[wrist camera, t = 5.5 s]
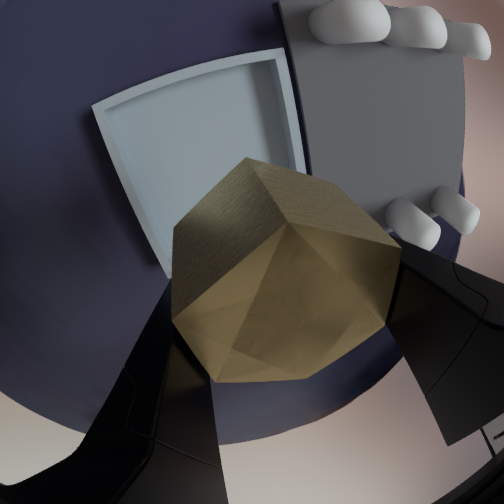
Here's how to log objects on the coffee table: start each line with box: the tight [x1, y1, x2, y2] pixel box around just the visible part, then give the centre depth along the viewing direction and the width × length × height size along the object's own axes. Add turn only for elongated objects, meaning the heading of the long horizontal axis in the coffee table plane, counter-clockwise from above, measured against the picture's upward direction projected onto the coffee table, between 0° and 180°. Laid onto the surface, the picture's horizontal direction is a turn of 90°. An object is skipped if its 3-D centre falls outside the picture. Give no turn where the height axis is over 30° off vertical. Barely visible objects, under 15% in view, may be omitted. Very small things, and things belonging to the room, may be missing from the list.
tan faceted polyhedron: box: [171, 157, 402, 382], centre depth 8 cm, size 6×5×4 cm
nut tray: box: [92, 48, 306, 279], centre depth 17 cm, size 13×11×2 cm
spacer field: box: [278, 0, 491, 251], centre depth 16 cm, size 20×17×5 cm
